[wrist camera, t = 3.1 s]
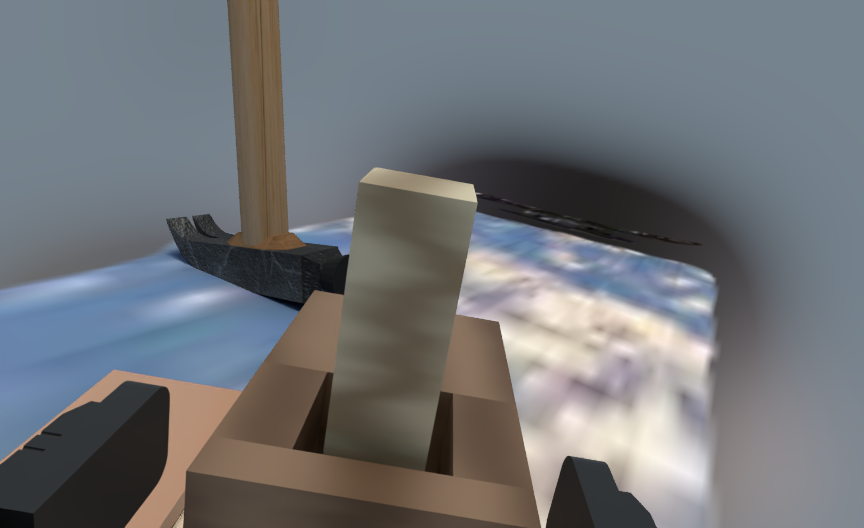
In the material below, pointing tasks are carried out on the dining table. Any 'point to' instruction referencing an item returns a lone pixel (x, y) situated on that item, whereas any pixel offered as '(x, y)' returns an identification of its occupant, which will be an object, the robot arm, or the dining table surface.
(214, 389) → the terracotta tile
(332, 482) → the walnut toolbox
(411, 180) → the maple key
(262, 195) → the hammer
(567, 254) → the dining table surface
